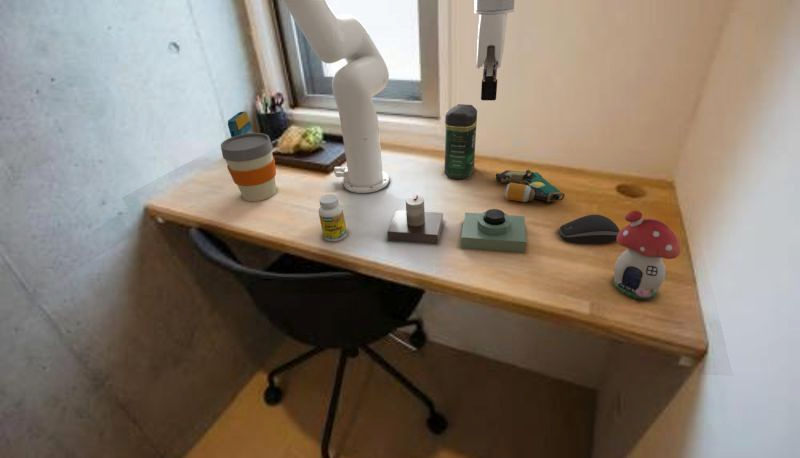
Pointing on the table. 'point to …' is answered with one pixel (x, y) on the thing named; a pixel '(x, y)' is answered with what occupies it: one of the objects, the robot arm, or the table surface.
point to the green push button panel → (494, 233)
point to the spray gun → (528, 186)
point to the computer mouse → (590, 230)
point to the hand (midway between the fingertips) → (488, 99)
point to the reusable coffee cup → (251, 165)
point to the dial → (415, 211)
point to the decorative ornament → (643, 256)
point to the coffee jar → (460, 141)
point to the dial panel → (415, 228)
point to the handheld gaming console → (240, 124)
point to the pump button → (494, 217)
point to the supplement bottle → (332, 218)
